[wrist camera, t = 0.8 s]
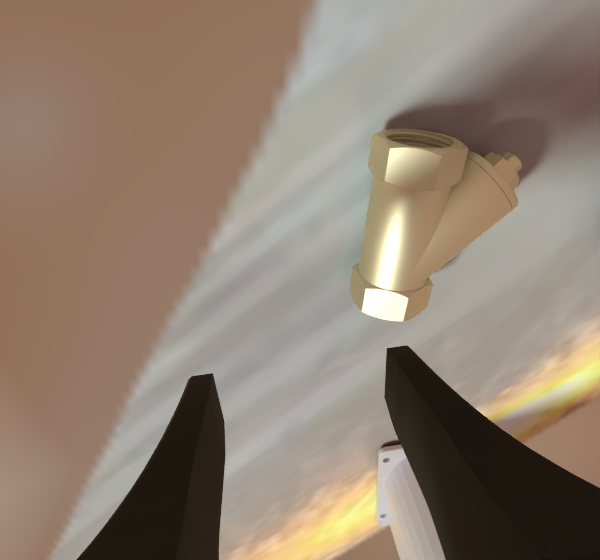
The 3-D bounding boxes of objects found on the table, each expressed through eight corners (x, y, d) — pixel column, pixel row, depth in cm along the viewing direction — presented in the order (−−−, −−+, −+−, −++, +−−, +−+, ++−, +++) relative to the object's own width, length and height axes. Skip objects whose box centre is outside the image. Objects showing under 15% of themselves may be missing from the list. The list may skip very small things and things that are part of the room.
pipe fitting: (501, 129, 21) (365, 126, 19) (558, 153, 18) (400, 151, 16) (457, 275, 25) (343, 281, 24) (497, 316, 22) (368, 326, 20)
